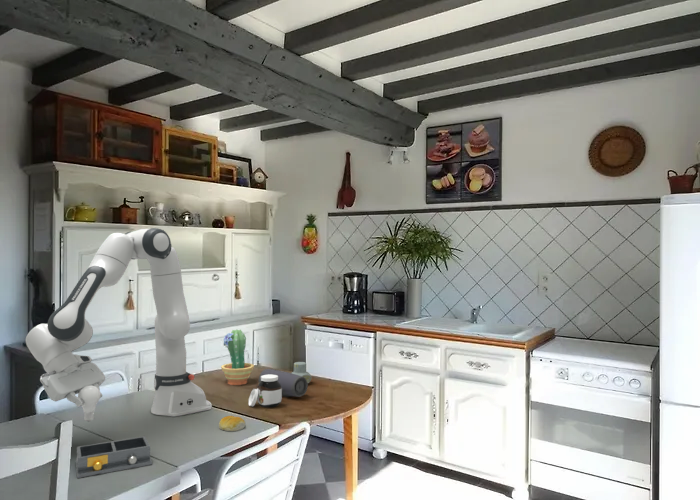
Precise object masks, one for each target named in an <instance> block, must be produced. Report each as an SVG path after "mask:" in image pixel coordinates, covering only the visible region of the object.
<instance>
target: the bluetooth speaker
mask: <svg viewBox="0 0 700 500" xmlns="http://www.w3.org/2000/svg"><path fill="white" fill-rule="evenodd" d="M270 374H271V375H277V376H278V382H279V383H280V384H281V388H282V397H285V398H291V397H297V398H300V397H303V396H304V395H305V394H306V393H307V390H308V387H309V383H307V380H306V379H305V378H304V377H302V376H299V375H296V374H292V372H287V371H282V370H278V369H273V368H272V369H271V368H265V369H263V370H262V371H261V372H260V374H259V377H258V383H259V382H260V381H261V376H263V375H270Z"/></svg>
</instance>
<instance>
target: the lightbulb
mask: <svg viewBox="0 0 700 500" xmlns="http://www.w3.org/2000/svg"><path fill="white" fill-rule="evenodd" d="M99 389H100V388H99ZM99 389H98V388H97V387H96V386H92V385H89V386H85V387H83V388H82V389H81V390H80V391H79V393H78V394H77V397H78V398H82V399H83V400H84V401H85V403H84V404H83V405H82V406H81V407H82V411H83V417H84V418H83V419H84V421H85V422H88V423H89V422H91V421H93V420H94V419H95V415H94V414H95V410H96V407H97V404H98V403H99V401H100V399H101V398H102V397H101V394H102V392H101V391H100V390H99ZM100 392H101V393H100ZM100 397H101V398H100Z"/></svg>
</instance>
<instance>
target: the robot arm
mask: <svg viewBox="0 0 700 500" xmlns="http://www.w3.org/2000/svg"><path fill="white" fill-rule="evenodd" d="M132 260H147V262H148V264H149V270H150V279H151V280H150V281H151V288H152V296H153V300H154V301H153V302H154V305H155V311H156V315H155V318H154V338H155V339H154V340H155V354H156V355H155V374H154V379H153V381H154V383H153V388H154V396H153V402H152V404H151V409H150V413H151V414H153V415H157V416H168V417H179V416H180V417H181V416H184V415H189V414H194V413H199V412H205V411H208V410H211V409H212V407H213V405H212V403H211V401H209V400H207V397H206V393H205V391H204V390H203V388H201V386H199V385H197V384H195V383H194V382H192V381H193V380H194V379H195V375H194V374H193V373H190V372H187V349H186V341H185V339H186V338H185V336H187V335H188V333H189V331H190V327H191V323H190V318H189V312H188V311H189V310H188V308H187V307H188V306H187V301H186V297H185V294H184V287H183V279H182V277H183V276H182V270H181V269H182V268H181V264H180V260H179V256H178V252H177V250H176V248H175V247H173V246H172V242H171V238H170V236H169V234H168V232H166V231H165V230H164V229H161V228H157V227H151V228H140V229H137V230H133V231H128V232H126V233H123V232H122V233H121V232H113V233H110V234H109V235H108V236H107V237H106V238H105V240H104V241H103V242H102V243H101V245H100V246H99V248H98V250H97V251H96V252H95V254H94V256H93V258H92V260H91V262H90V264H89V265H88V267H87V268H86V270H85V271H84V273H83V274H82V275H81V277H80V278H79V279H78V282H77V283H76V284H75V286H74V287H73V289H72V291H71V292H70V294H69V295H68V297H67V299H66V300H65V301H64V302H63V303H62V304H61V305H60V306H59V307H58V308H56V309H55V311H53V312H52V313H51V315H50V316H49V317H48V319H47V323H40V324H37V325H35V326H33V328H31V329H30V330H29V332H28V333H27V335H26V337H25V344H26V347H27V348H28V350H29V352H30V353H31V354H32V356H33V357H34V359H35V360H36V361H37V362H39V363H40V364H41V365H42V368H43V370H44V371H45V372H46V373H43V374H41V376H40V378H39V381H40V383H41V384H42V386H43V389H44V391H45V393H46V394H47V397H49V399H50V400H51V401H53V402H59V401H61V400H65V399H66V400H68V401H69V402H72V403H73V404H74V405H76V407H78V408H79V407H82V405H83V404H84V403H85V401H84V400H83V399H82V398H78V393H79V391H80V390H81V389H82V388H83V387H85V386H89V385H92V386H96V387H97V388H98V389H99V390H100V386H101V385H102V384H103V383H104V382H105V381H106V374H104V373H103V371H102V370H101V369H100V367H99V366H98V365H97V364H96V363H94V362H92V360H93V359H92V358H91V356H90V355H80V354H74V353H73V352H74V351H76V350H77V349H81V348H82V347H84V346H85V345H86V344H88V343H89V342H90V341H91V339H92V338H93V334H94V330H93V327H92V325H91V324H90V322H89V321H88V320H87V319H86V311H87V309H88V307H89V305H90V304H91V302H92V300H93V299H94V297H95V296H96V294H97V292H98V291H100V289H101V288H108V287H112V286H115V285H117V284H118V283H119V281H120V280H121V279H122V277H123V275H124V274H125V272H126V270H127V268H128V266H129V263H130V261H132ZM100 393H101V397H100V399H101V398H103V394H102V392H101V391H100Z"/></svg>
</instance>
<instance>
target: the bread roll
mask: <svg viewBox="0 0 700 500" xmlns="http://www.w3.org/2000/svg"><path fill="white" fill-rule="evenodd" d="M245 426H246V421H245V419H243V418H242V417H240V416H234V415H226V416H224V417H222V418H221V419H219V423H218V427H219V429H220V430H222V431H225V432H237V431H241V430H243V429H245Z"/></svg>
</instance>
